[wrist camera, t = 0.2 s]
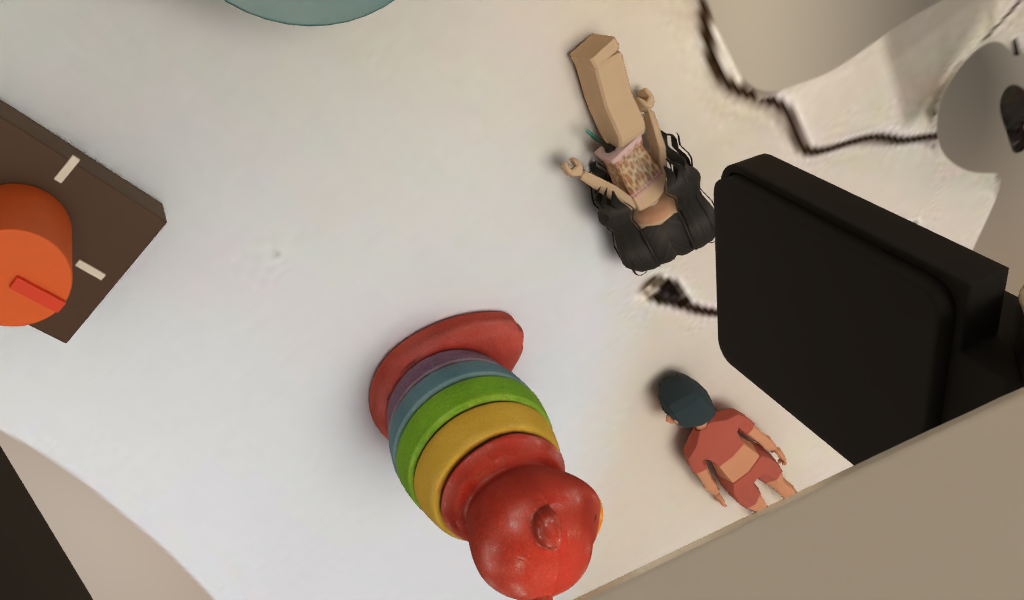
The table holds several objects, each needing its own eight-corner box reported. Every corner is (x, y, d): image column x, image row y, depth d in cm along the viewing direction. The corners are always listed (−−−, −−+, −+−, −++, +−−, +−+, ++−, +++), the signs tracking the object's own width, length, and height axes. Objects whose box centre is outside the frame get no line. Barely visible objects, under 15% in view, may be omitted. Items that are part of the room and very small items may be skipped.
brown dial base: (-145, 219, 40) (-157, 242, 38) (-29, 72, 39) (-34, 87, 37) (62, 325, 46) (62, 350, 44) (166, 199, 45) (171, 218, 43)
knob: (-60, 239, 39) (-77, 295, 35) (0, 163, 39) (-9, 210, 34) (34, 289, 42) (30, 347, 37) (92, 218, 42) (95, 269, 37)
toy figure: (505, 98, 51) (619, 276, 59) (562, 116, 46) (678, 307, 54) (594, 20, 52) (693, 206, 60) (659, 29, 47) (758, 230, 55)
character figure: (807, 486, 80) (684, 343, 65) (840, 511, 77) (719, 368, 62) (757, 540, 80) (623, 410, 65) (788, 568, 77) (654, 438, 62)
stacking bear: (498, 446, 62) (627, 635, 48) (357, 463, 58) (452, 676, 43) (523, 308, 57) (674, 471, 43) (373, 315, 53) (485, 499, 39)
